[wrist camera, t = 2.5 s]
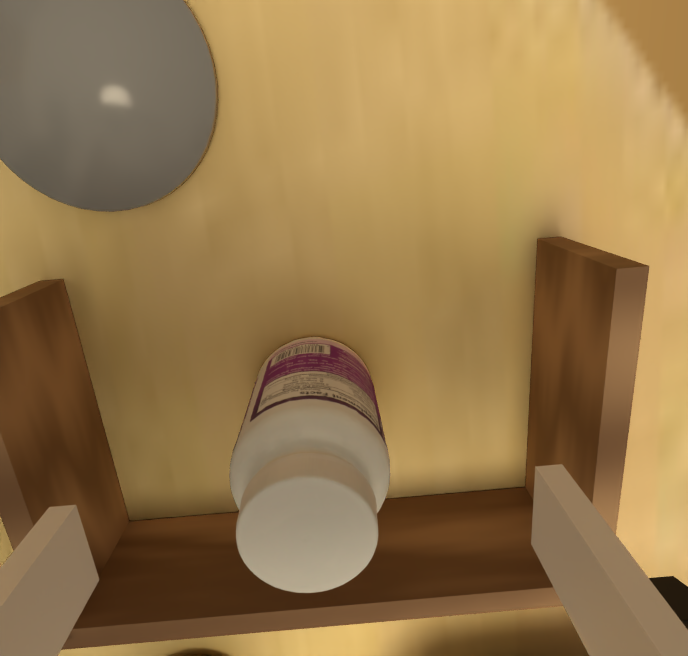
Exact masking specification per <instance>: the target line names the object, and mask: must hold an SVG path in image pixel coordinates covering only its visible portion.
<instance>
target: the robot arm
mask: <svg viewBox="0 0 688 656" xmlns="http://www.w3.org/2000/svg"><path fill="white" fill-rule="evenodd" d="M531 545H532V547H533V549H534V551H535V553H536V554H537V556H538V558H539V560H540V562H541V564H542V566H543V568H544V570H545V572H546V574H547V576H548V577H549V579H550V581H551V583H552V585H553V587H554V589H555V591H556V593H557V595H558V597H559V599H560V601H561V602H562V604H563V606H564V608H565V610H566V612H567V614H568V616H569V618H570V620H571V622H572V624H573V625H574V627H575V629H576V631H577V633H578V635H579V637H580V639H581V641H582V643H583V645H584V647H585V649H586V650H587V652H588V654H589V656H688V587H687V586H686V585H685V584H683V583H682V582H680V581H679V580H678V579H676V578H675V577H674V576H669V577H657V578H648V577H647V575H646V574H645V573H644V571H643V570H642V569H641V567H640V566H639V565H638V564H637V562H636V561H635V560H634V558H633V557H632V556H631V554H630V553H629V552H628V550H627V549H626V548H625V546H624V545H623V544H622V542H621V541H620V540H619V538H618V537H617V536H616V535H615V533H614V532H613V531H612V529H611V528H610V527H609V525H608V524H607V523H606V521H605V520H604V519H603V517H602V516H601V515H600V513H599V512H598V511H597V509H596V508H595V507H594V506H593V504H592V503H591V502H590V500H589V499H588V498H587V496H586V495H585V494H584V492H583V491H582V490H581V488H580V487H579V486H578V484H577V483H576V482H575V481H574V479H573V478H572V477H571V475H570V474H569V473H568V471H567V470H566V469H565V467H564V466H563V465H562V464H559V465H547V466H535V481H534V499H533V517H532V535H531ZM98 581H99V577H98V573H97V570H96V567H95V564H94V561H93V557H92V554H91V551H90V548H89V545H88V541H87V538H86V535H85V532H84V529H83V525H82V522H81V519H80V516H79V513H78V509H77V506H76V505H67V506H55V507H49V508H48V509H47V510H46V512H45V513H44V514H43V515H42V517H41V518H40V519H39V520H38V522H37V523H36V524H35V525H34V527H33V528H32V529H31V530H30V531H29V533H28V534H27V535H26V536H25V538H24V539H23V540H22V541H21V543H20V544H19V545H18V546H17V548H16V549H15V550H14V551H13V552H12V554H11V555H10V556H9V557H8V559H7V560H6V561H5V562H4V564H3V565H2V566H1V567H0V656H58V654H59V652H60V651H61V649H62V647H63V645H64V643H65V642H66V640H67V638H68V636H69V634H70V632H71V631H72V629H73V627H74V625H75V623H76V622H77V620H78V618H79V616H80V614H81V612H82V611H83V609H84V607H85V605H86V603H87V601H88V600H89V598H90V596H91V594H92V592H93V591H94V589H95V587H96V585H97V583H98Z"/></svg>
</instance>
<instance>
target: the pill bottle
mask: <svg viewBox="0 0 688 656" xmlns="http://www.w3.org/2000/svg"><path fill="white" fill-rule="evenodd" d="M389 482H390V460H389V454H388V449H387V445H386V442H385V437H384V432H383V428H382V422H381V418H380V413H379V409H378V405H377V400H376V395H375V390H374V386H373V383H372V380H371V376H370V373H369V371H368V369H367V367H366V365H365V364H364V362H363V361H362V359H361V358H360V357H359V356H358V355H357V354H356V353H355V352H354V351H353V350H351V349H350V348H348V347H347V346H345V345H344V344H342V343H339V342H337V341H334V340H331V339H325V338H321V337H308V338H301V339H297V340H294V341H292V342H290V343H287V344H285V345H283V346H282V347H280V348H278V349H277V350H276V351H274V352H273V353H272V354H271V355H270V356H269V357H268V358H267V360H266V361H265V362H264V364H263V365H262V367H261V369H260V371H259V374H258V376H257V380H256V382H255V386H254V388H253V392H252V395H251V398H250V402H249V405H248V408H247V411H246V414H245V417H244V421H243V423H242V426H241V430H240V432H239V435H238V439H237V442H236V444H235V447H234V450H233V453H232V458H231V463H230V487H231V491H232V495H233V498H234V501H235V503H236V505H237V507H238V509H239V514H238V519H237V523H236V542H237V547H238V551H239V554H240V556H241V558H242V560H243V561H244V563H245V564H246V566H247V567H248V568H249V569H250V570H251V571H252V572H253V573H254V574H255V575H256V576H257V577H258V578H260V579H261V580H263V581H264V582H266V583H268V584H270V585H272V586H273V587H275V588H279V589H282V590H285V591H291V592H297V593H314V592H322V591H326V590H330V589H333V588H336V587H339V586H341V585H343V584H345V583H347V582H348V581H350V580H351V579H353V578H355V577H356V576H357V575H358V574H359V573H360V572H361V571H362V570H363V569H364V568H365V567H366V566H367V565H368V563H369V562H370V560H371V559H372V557H373V555H374V552H375V549H376V546H377V542H378V520H377V513H378V512H379V510H380V508H381V506H382V504H383V502H384V500H385V498H386V495H387V492H388V488H389Z"/></svg>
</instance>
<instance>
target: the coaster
mask: <svg viewBox="0 0 688 656" xmlns="http://www.w3.org/2000/svg"><path fill="white" fill-rule="evenodd" d="M217 109H218V84H217V77H216V71H215V65H214V61H213V58H212V54H211V51H210V47H209V45H208V43H207V40H206V38H205V35H204V33H203V31H202V29H201V27H200V25H199V23H198V21H197V20H196V18H195V16H194V14H193V13H192V11H191V10H190V8H189V7H188V6H187V4H186V3H185V1H184V0H0V159H1V160H2V161H3V162H4V163H5V164H6V166H7V167H8V168H9V169H11V170H12V171H13V172H14V173H15V174H16V175H17V176H18V177H20V178H21V179H22V180H23V181H25V182H26V183H27V184H29V185H30V186H32V187H33V188H34V189H36V190H38V191H39V192H41V193H43V194H45V195H47V196H48V197H50V198H52V199H55V200H57V201H59V202H62V203H64V204H67V205H70V206H74V207H77V208H81V209H87V210H93V211H122V210H129V209H133V208H137V207H141V206H145V205H148V204H151V203H153V202H155V201H158V200H160V199H162V198H164V197H165V196H167V195H169V194H170V193H172V192H174V191H175V190H176V189H177V188H178V187H180V186H181V185H182V184H183V183H184V182H185V181H186V180H187V179H188V178H189V177H190V176H191V175H192V174H193V173H194V171H195V170H196V168H197V167H198V165H199V164H200V163H201V161H202V159H203V157H204V155H205V153H206V151H207V149H208V147H209V145H210V142H211V139H212V136H213V133H214V129H215V124H216V119H217Z"/></svg>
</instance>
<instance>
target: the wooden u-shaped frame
mask: <svg viewBox="0 0 688 656" xmlns="http://www.w3.org/2000/svg"><path fill="white" fill-rule="evenodd" d="M648 273H649V266H647V265H644V264H641V263H638V262H635V261H632V260H629V259H626V258H623V257H620V256H617V255H614V254H611V253H608V252H605V251H602V250H599V249H596V248H593V247H590V246H587V245H584V244H581V243H578V242H575V241H572V240H569V239H567V238H564V237H552V238H540V239H538V240H537V260H536V280H535V301H534V321H533V341H532V362H531V382H530V403H529V423H528V443H527V464H526V484H525V487H521V488H510V489H498V490H487V491H475V492H463V493H452V494H440V495H429V496H417V497H406V498H394V499H385V500H384V502H383V504H382V506H381V508H380V510H379V512H378V513H377V520H378V542H377V546H376V549H375V552H374V555H373V557H372V559H371V560H370V562H369V563H368V565H367V566H366V567H365V568H364V569H363V570H362V571H361V572H360V573H359V574H358V575H357V576H356V577H355V578H353V579H351V580H350V581H348V582H347V583H345V584H343V585H341V586H339V587H336V588H333V589H330V590H326V591H322V592H314V593H297V592H291V591H285V590H282V589H279V588H275V587H273V586H272V585H270V584H268V583H266V582H264V581H263V580H261V579H260V578H258V577H257V576H256V575H255V574H254V573H253V572H252V571H251V570H250V569H249V568H248V567H247V566H246V564H245V563H244V561H243V560H242V558H241V556H240V554H239V551H238V547H237V542H236V523H237V519H238V514H239V512H232V513H221V514H209V515H198V516H186V517H175V518H163V519H151V520H140V521H129V518H128V515H127V511H126V507H125V504H124V500H123V497H122V493H121V489H120V486H119V482H118V478H117V475H116V471H115V467H114V464H113V460H112V456H111V453H110V449H109V445H108V442H107V438H106V434H105V431H104V427H103V423H102V420H101V416H100V412H99V409H98V405H97V401H96V398H95V394H94V391H93V387H92V383H91V380H90V376H89V372H88V369H87V365H86V361H85V358H84V354H83V350H82V347H81V343H80V339H79V336H78V332H77V328H76V325H75V321H74V317H73V314H72V310H71V306H70V303H69V299H68V295H67V292H66V288H65V285H64V281H63V279H59V280H47V281H38V282H36V283H34V284H31V285H29V286H27V287H24V288H22V289H19V290H17V291H15V292H12V293H10V294H8V295H5V296H3V297H1V298H0V516H1V518H2V521H3V524H4V526H5V529H6V532H7V534H8V537H9V540H10V542H11V545H12V548H13V550H15V549H16V548H17V546H18V545H19V544H20V543H21V541H22V540H23V539H24V538H25V536H26V535H27V534H28V533H29V531H30V530H31V529H32V528H33V527H34V525H35V524H36V523H37V522H38V520H39V519H40V518H41V517H42V515H43V514H44V513H45V512H46V510H47V509H48V508H49V507H55V506H67V505H76V506H77V509H78V513H79V516H80V519H81V522H82V525H83V529H84V532H85V535H86V538H87V541H88V545H89V548H90V551H91V554H92V557H93V561H94V564H95V567H96V570H97V573H98V577H99V581H98V583H97V585H96V587H95V589H94V591H93V592H92V594H91V596H90V598H89V600H88V601H87V603H86V605H85V607H84V609H83V611H82V612H81V614H80V616H79V618H78V620H77V622H76V623H75V625H74V627H73V629H72V631H71V632H70V634H69V636H68V638H67V640H66V642H65V643H64V645H63V647H62V649H61V650H63V649H75V648H86V647H98V646H109V645H120V644H132V643H143V642H155V641H166V640H178V639H189V638H201V637H212V636H224V635H235V634H247V633H258V632H269V631H281V630H292V629H304V628H315V627H327V626H338V625H350V624H361V623H373V622H384V621H396V620H407V619H418V618H430V617H441V616H453V615H464V614H476V613H487V612H499V611H510V610H522V609H533V608H545V607H556V606H563V604H562V602H561V601H560V599H559V597H558V595H557V593H556V591H555V589H554V587H553V585H552V583H551V581H550V579H549V577H548V576H547V574H546V572H545V570H544V568H543V566H542V564H541V562H540V560H539V558H538V556H537V554H536V553H535V551H534V549H533V547H532V545H531V535H532V517H533V499H534V481H535V466H547V465H559V464H562V465H563V466H564V467H565V469H566V470H567V471H568V473H569V474H570V475H571V477H572V478H573V479H574V481H575V482H576V483H577V484H578V486H579V487H580V488H581V490H582V491H583V492H584V494H585V495H586V496H587V498H588V499H589V500H590V502H591V503H592V504H593V506H594V507H595V508H596V509H597V511H598V512H599V513H600V515H601V516H602V517H603V519H604V520H605V521H606V523H607V524H608V525H609V527H610V528H611V529H612V531H613V532H614V533H615V535H616V527H617V520H618V512H619V504H620V496H621V488H622V480H623V472H624V464H625V456H626V448H627V440H628V432H629V424H630V416H631V408H632V400H633V392H634V384H635V376H636V368H637V360H638V352H639V344H640V337H641V329H642V321H643V313H644V305H645V297H646V289H647V281H648Z"/></svg>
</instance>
